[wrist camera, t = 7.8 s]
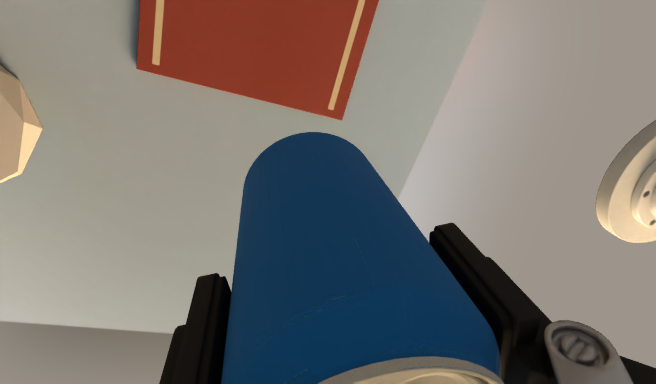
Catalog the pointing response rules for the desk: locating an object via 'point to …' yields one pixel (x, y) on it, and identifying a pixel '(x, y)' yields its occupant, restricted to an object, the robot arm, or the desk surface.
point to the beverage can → (343, 281)
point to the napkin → (260, 47)
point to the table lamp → (15, 126)
